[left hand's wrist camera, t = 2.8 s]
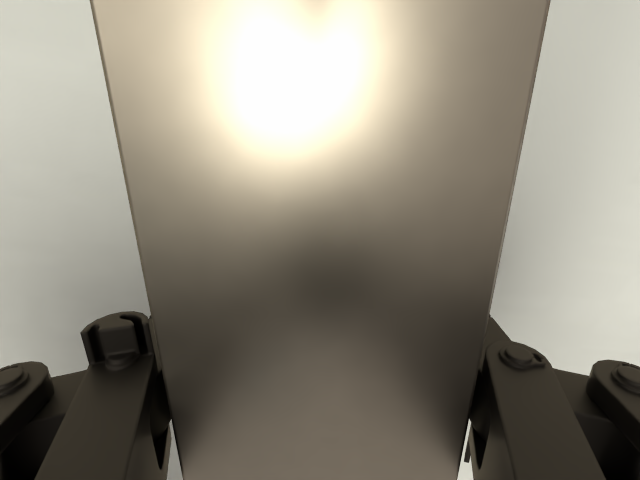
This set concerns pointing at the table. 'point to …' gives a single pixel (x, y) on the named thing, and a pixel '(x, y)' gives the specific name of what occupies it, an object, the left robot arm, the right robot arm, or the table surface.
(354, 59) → the bar
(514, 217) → the table surface
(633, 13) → the table surface
